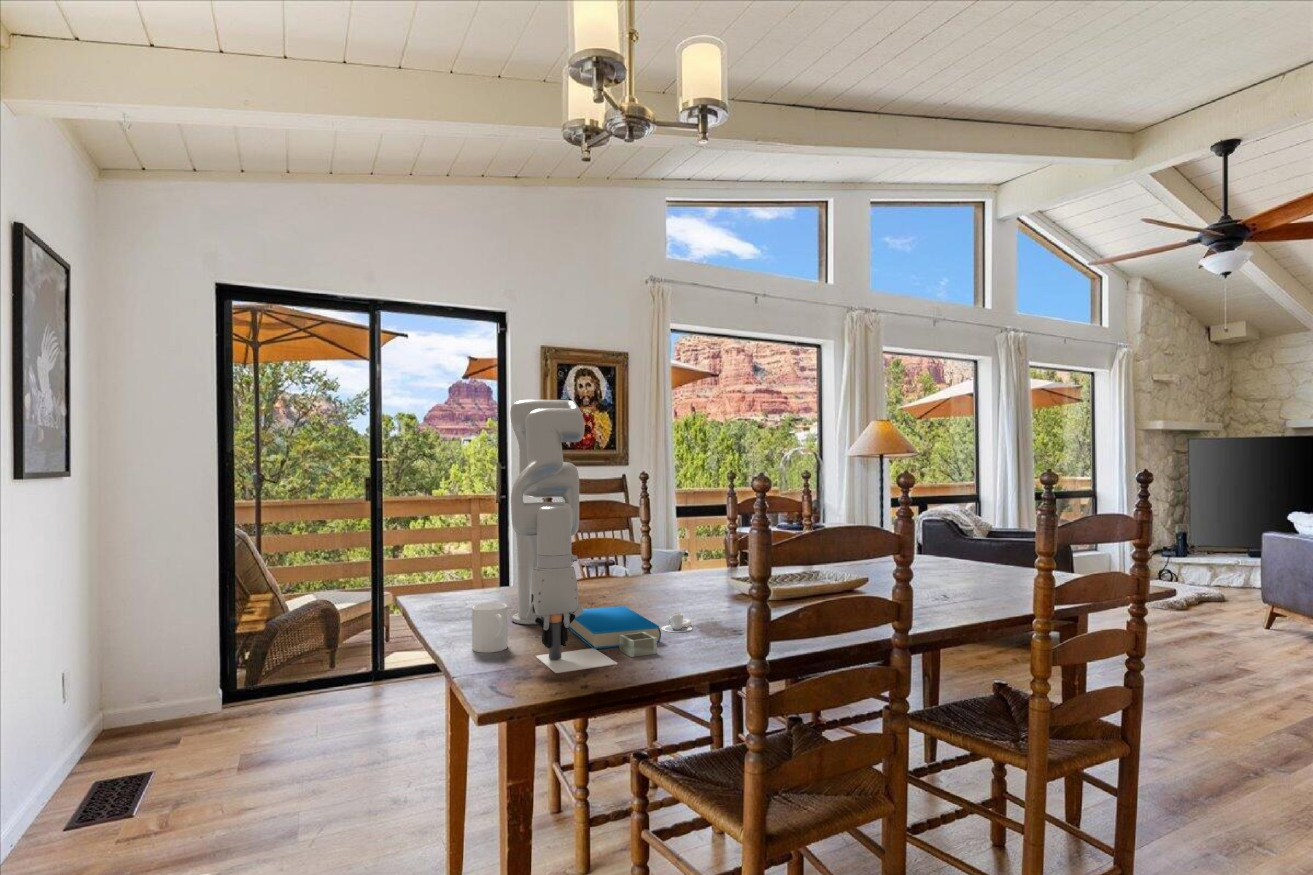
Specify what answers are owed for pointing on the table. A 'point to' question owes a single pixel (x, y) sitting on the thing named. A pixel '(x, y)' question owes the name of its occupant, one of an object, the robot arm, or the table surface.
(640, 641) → the pen holder
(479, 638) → the mug
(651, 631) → the book
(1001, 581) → the table surface
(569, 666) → the paper
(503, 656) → the table surface
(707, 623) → the table surface
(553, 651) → the marker
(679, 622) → the teacup and saucer
